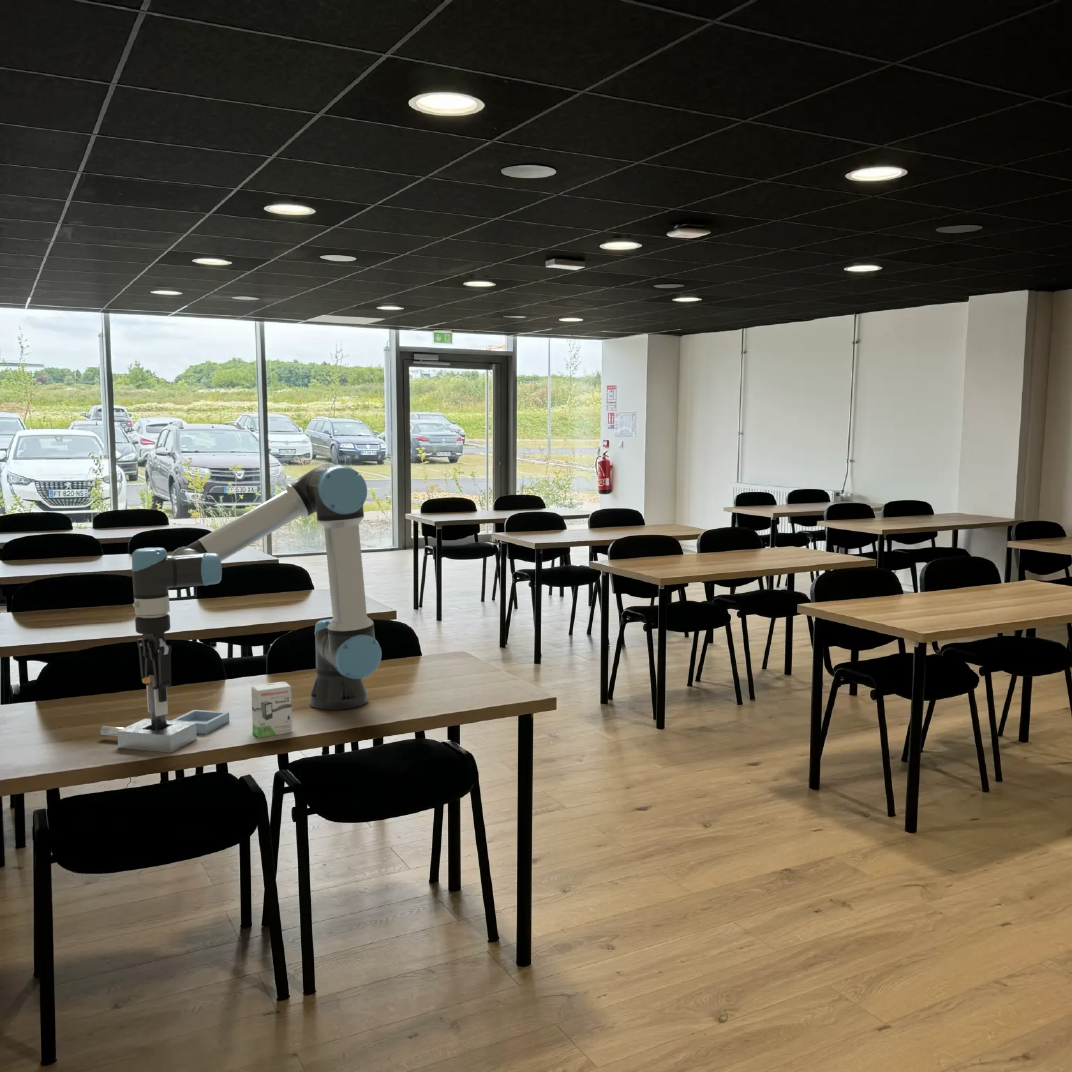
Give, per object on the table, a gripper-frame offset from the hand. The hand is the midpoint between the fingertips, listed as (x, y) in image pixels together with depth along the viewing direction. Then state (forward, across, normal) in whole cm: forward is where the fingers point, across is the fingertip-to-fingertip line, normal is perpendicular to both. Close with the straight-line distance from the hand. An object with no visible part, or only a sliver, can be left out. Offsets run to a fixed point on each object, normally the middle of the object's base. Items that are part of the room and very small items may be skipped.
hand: (157, 712), depth 224 cm
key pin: (+5, 0, 0) cm, 5 cm away
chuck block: (+7, -4, -2) cm, 9 cm away
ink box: (+8, +12, +23) cm, 27 cm away
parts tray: (+7, -5, +13) cm, 16 cm away
